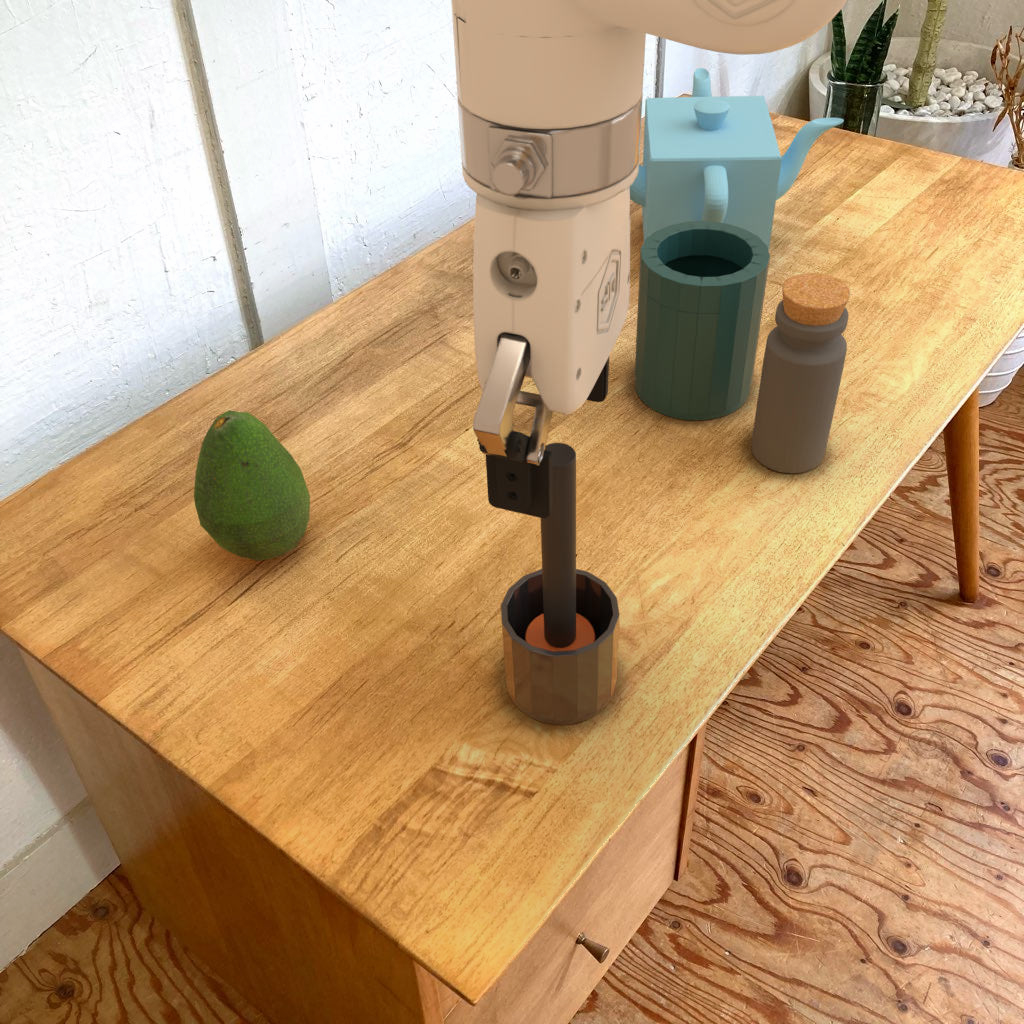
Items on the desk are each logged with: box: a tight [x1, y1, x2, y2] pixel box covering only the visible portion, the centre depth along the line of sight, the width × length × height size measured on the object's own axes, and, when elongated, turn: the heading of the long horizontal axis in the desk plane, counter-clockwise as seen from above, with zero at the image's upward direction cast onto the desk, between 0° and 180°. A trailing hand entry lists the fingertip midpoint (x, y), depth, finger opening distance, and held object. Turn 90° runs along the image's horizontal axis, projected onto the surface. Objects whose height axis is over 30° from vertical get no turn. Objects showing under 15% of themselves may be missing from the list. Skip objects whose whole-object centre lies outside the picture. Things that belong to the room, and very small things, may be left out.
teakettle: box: [630, 67, 845, 251], centre depth 104 cm, size 19×19×15 cm
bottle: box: [750, 272, 851, 474], centre depth 80 cm, size 6×6×15 cm
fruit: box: [193, 409, 311, 562], centre depth 75 cm, size 8×8×12 cm
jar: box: [634, 221, 771, 421], centre depth 87 cm, size 10×10×13 cm
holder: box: [500, 568, 620, 726], centre depth 67 cm, size 7×7×7 cm
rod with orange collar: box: [525, 442, 595, 651], centre depth 62 cm, size 4×4×19 cm
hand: (551, 448), depth 56 cm, fingers open, 9 cm apart
